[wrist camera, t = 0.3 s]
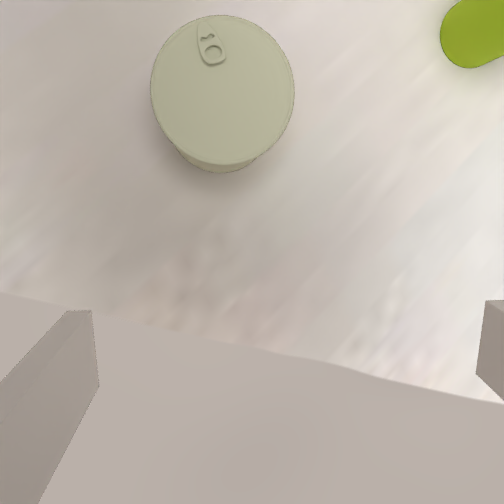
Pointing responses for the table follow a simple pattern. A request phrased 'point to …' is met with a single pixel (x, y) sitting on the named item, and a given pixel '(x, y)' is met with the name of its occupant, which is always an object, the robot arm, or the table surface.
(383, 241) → the table surface
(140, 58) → the table surface
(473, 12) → the soap dispenser
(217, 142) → the can
